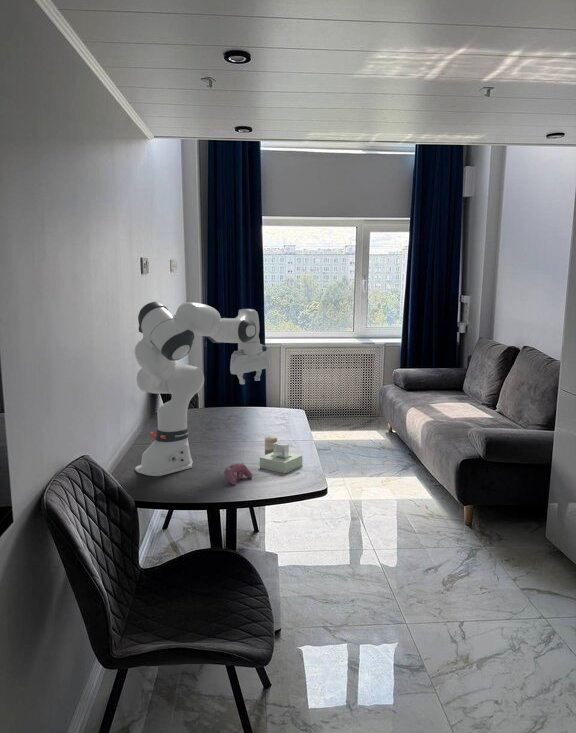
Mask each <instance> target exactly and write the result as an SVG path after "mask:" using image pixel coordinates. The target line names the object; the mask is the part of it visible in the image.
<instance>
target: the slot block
mask: <svg viewBox="0 0 576 733" xmlns="http://www.w3.org/2000/svg"><path fill="white" fill-rule="evenodd" d="M302 466H303V455H302V454H296V453H292V452H289V458H288V459H286V460H285V459H280V458H276V457H273V452H272V453H269V454H267V455H265V454H264V455H262V456H260V457H259V468H260V467H261V469H264V468H265V470H269V471H273V472H277V471H278V473H281V472H283V473H282V474H287V473H289V472H291V471H294V470H295V468H296V469H297V468H300V467H302ZM293 469H294V470H293ZM288 471H289V472H288ZM286 472H287V473H286Z"/></svg>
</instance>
